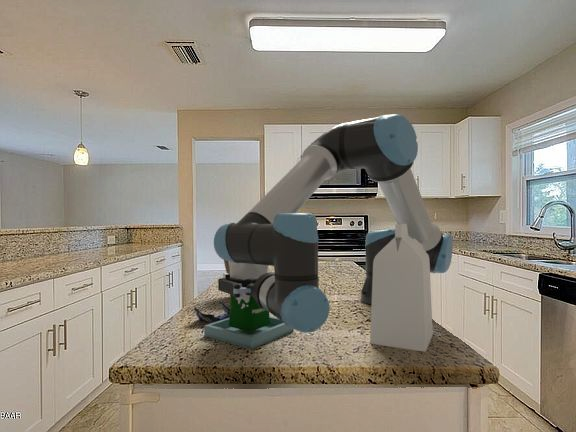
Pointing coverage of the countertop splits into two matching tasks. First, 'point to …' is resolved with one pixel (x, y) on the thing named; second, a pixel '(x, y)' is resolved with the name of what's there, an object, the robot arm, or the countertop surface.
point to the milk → (401, 294)
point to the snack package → (211, 317)
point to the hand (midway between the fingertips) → (243, 276)
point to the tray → (246, 333)
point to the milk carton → (247, 299)
